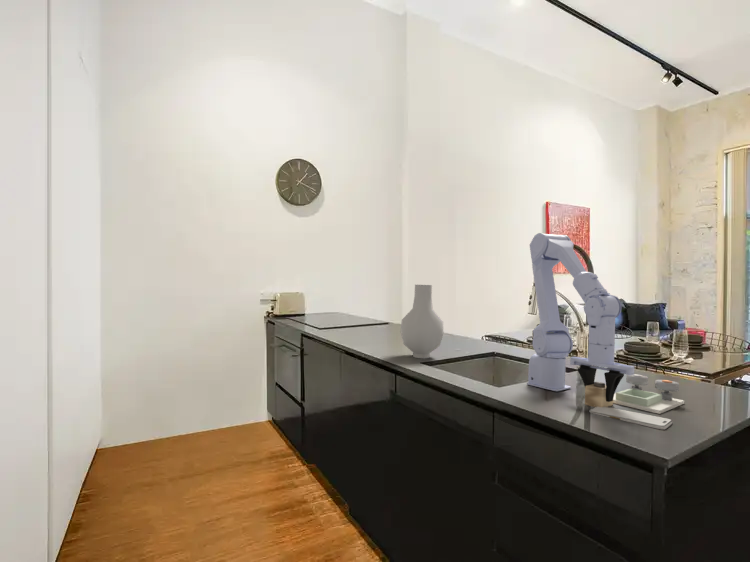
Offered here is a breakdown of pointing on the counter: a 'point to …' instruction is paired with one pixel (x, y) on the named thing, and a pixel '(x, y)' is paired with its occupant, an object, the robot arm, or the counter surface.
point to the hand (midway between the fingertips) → (599, 398)
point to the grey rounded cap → (667, 385)
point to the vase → (422, 324)
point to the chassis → (645, 397)
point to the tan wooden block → (596, 395)
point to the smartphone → (633, 417)
